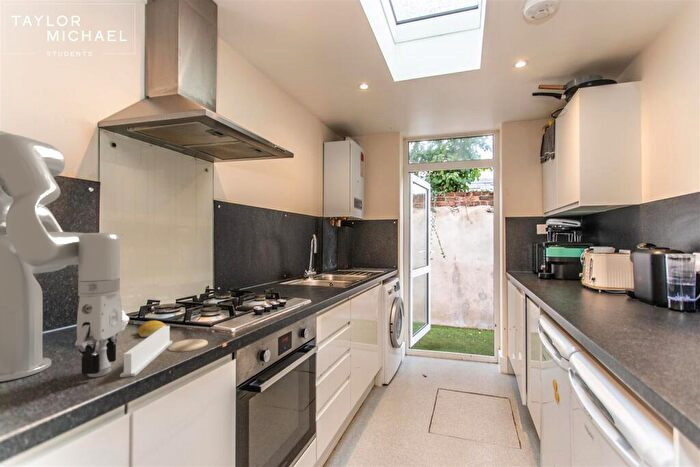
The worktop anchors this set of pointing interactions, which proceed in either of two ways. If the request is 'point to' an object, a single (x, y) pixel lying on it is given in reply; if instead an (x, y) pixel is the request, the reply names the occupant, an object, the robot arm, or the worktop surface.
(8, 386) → the worktop surface
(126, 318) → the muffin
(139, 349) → the divider wall
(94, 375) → the rook chess piece
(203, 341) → the cork coaster
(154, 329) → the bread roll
